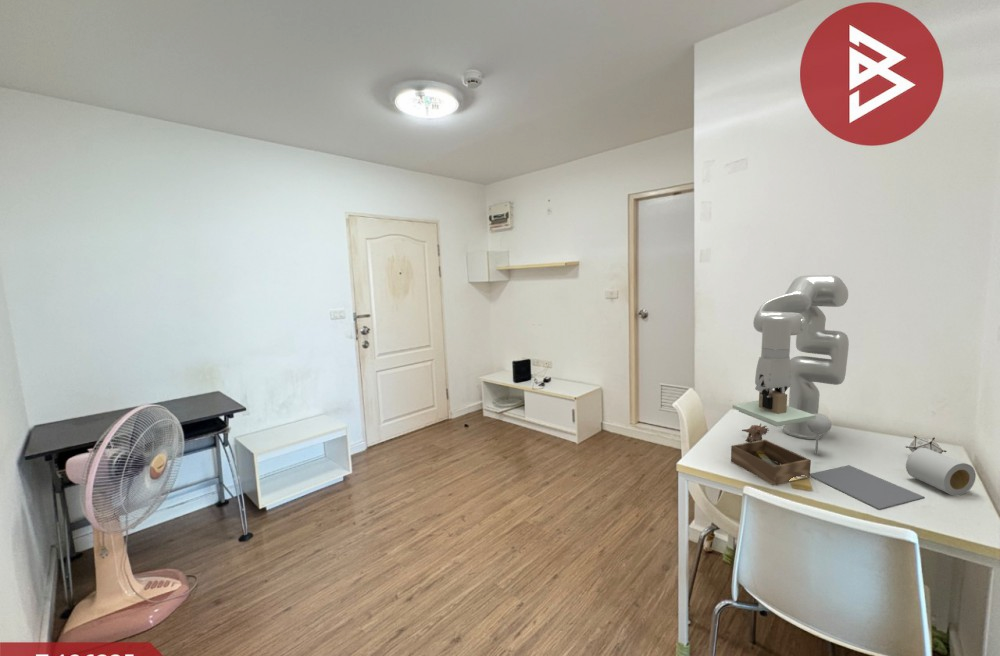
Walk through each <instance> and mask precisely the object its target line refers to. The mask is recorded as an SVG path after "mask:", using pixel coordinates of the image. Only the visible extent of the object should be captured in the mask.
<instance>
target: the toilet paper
mask: <svg viewBox="0 0 1000 656" xmlns="http://www.w3.org/2000/svg"><path fill="white" fill-rule="evenodd" d="M905 469H906V472H907V474H908V476H910V477H912V478H914V479H916V480H918V481H921V482H923V483H925V484H927V485H929V486H931V487H933V488H936V489H938V490H940V491H942V492H944V493H947V494H949V495H951V496H955V497H957V496H958V497H959V496H962V495H964V494H966V493H968V492H969V491H970V490H971V488H973V486H974V484H975V483H976V479H977V478H976V471H975V468H974V467H973V466H972V465H971V464H968V463H966V462H964V461H961V460H958V459H956V458H953V457H950V456H949V455H945V454H942V453H941V454H940V453H938V452H935V451H932V450H930V449H927V448H920V449H917V450H915V451H914V452H912V451H911V453H910V454H909V455H908V457H907V460H906V462H905Z"/></svg>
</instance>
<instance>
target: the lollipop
mask: <svg viewBox="0 0 1000 656" xmlns="http://www.w3.org/2000/svg"><path fill="white" fill-rule="evenodd" d="M813 415H816V419H812V420H808V421H806V425H807V427H808V429H809V430H811V431H812V432H814V433H817V435H816V439H815V452H814V454H815V455H818V453H819V439H820V438H819V434H822V435H823V434H826V433H829V432H830V430H831V429H832V421H831V419H830V418H829V417H828V416H826V415H825V414H822V413H818V414H813Z"/></svg>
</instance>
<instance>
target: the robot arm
mask: <svg viewBox="0 0 1000 656" xmlns="http://www.w3.org/2000/svg"><path fill="white" fill-rule="evenodd" d="M848 299H849V289H848V287H847V285H846V283H844V281H843V280H842V279H841V277H838V276H836V275H832V274H826V275H825V274H822V275H819V274H818V275H817V274H816V275H815V274H813V275H808V274H807V275H801V276H798V277H796V278H794V280H792V282H791V284H790V285H789V287H788V288H787V290H786V291H785V293H784V294H782V295H779V296H777V297H774V298H772V299H770V300H767V301H766V302H764V303H763V304H762V305H760V306H759V309H758V310H757V311H756V314H755V315H754V318H753V327H754V329H755V331H757V332H758V333H761V351H760V352H761V353H760V355H761V356H760V357H759V358H758V361H757V366H756V369H755V370H756V371H755V380H754V384H755V389H754V390H755V391H757V392H760V393H761V395H762V396H763V400H762V407H764V408H767V409H770V410H771V409H772V402H773V398H771V395H772V390H774V391H777V392H780V393H784V394H786V391H787V390H788V389H789V393H788V394H789V395H788V406H789V407H792V408H795V409H798V410H801V411H804V412H807V413H810V414H819V407H820V391H819V388H818V387H817V386H816V384H815V383H819V384H826V385H836V386H837V385H841V384H843V383H844V381H845V377H846V373H847V365H848V364H847V363H848V357H849V356H848V355H849V346H850V345H849V342H850V341H849V337H848V335H847V334H846V333H845V332H843V331H840V330H828V329H826V321H827V318H826V315H825V313H824V312H823V310H821V308H820V307H829V308H830V307H832V308H836V307H838V308H839V307H842V306H844V305H846V303H847V302H848ZM791 336H796V337H795V347H796V350H797V351H799V352H802V353H806V354H813V355H814V354H815V355H823V356H829V357H830V358H825V357H814V356H806V355H805V356H803V355H797V356H793V357H792V358H791V357H790V351H791ZM766 389H767V390H768V392H767V391H766ZM782 431H783V433H785V434H787V435H789V436H791V437H795V438H798V439H804V440H816V435H817V433H814V432H812V431H811V430H809V429H808V427H807V425H806V422H800V423H795V424H789V425H784V426H782ZM822 435H823V434H819V439H820V438H822V437H823V436H822Z"/></svg>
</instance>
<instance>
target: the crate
mask: <svg viewBox="0 0 1000 656" xmlns="http://www.w3.org/2000/svg"><path fill="white" fill-rule="evenodd" d="M730 448H731V449H730V450H731V451H730V452H731V453H730V462H731V463H732V464H734V465H736V466H738V467H739V468H740V469H741V468H742V469H744V470H745V471H747V472H749V473H751V474H752V475H754V476H755V477H758V478H760V479H761V480H763V481H765V482H766V483H769V484H771V485H772V486H777V485H783V484H787V483H790V482H789V480H790V479H791V478H793V477H796V476H801V475H805V476H807V477H808V478H811V477H810V473H811V468H812V467H811V466H812V465H811V463H812V459H809V458H808V457H805V456H803V455H801V454H799V453H796V452H794V451H792V450H789V449H788V448H785V447H782V446H780V445H778V444H775V443H773V442H772V441H769V440H767V439H762V440H760V441H756V440H754V441H752V442H745V443H744V442H743V443H739V444H732V445H731V447H730ZM756 451H760V452H764V453H765V454H766V455H767V456H768V458H769V459H770V460H771V462H774V463H777V465H775V466H773V465H771V464H769V463H767V462H765V461H763V460H761V459H759V458H757V457H755V456H756ZM808 478H807V479H808Z"/></svg>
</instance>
